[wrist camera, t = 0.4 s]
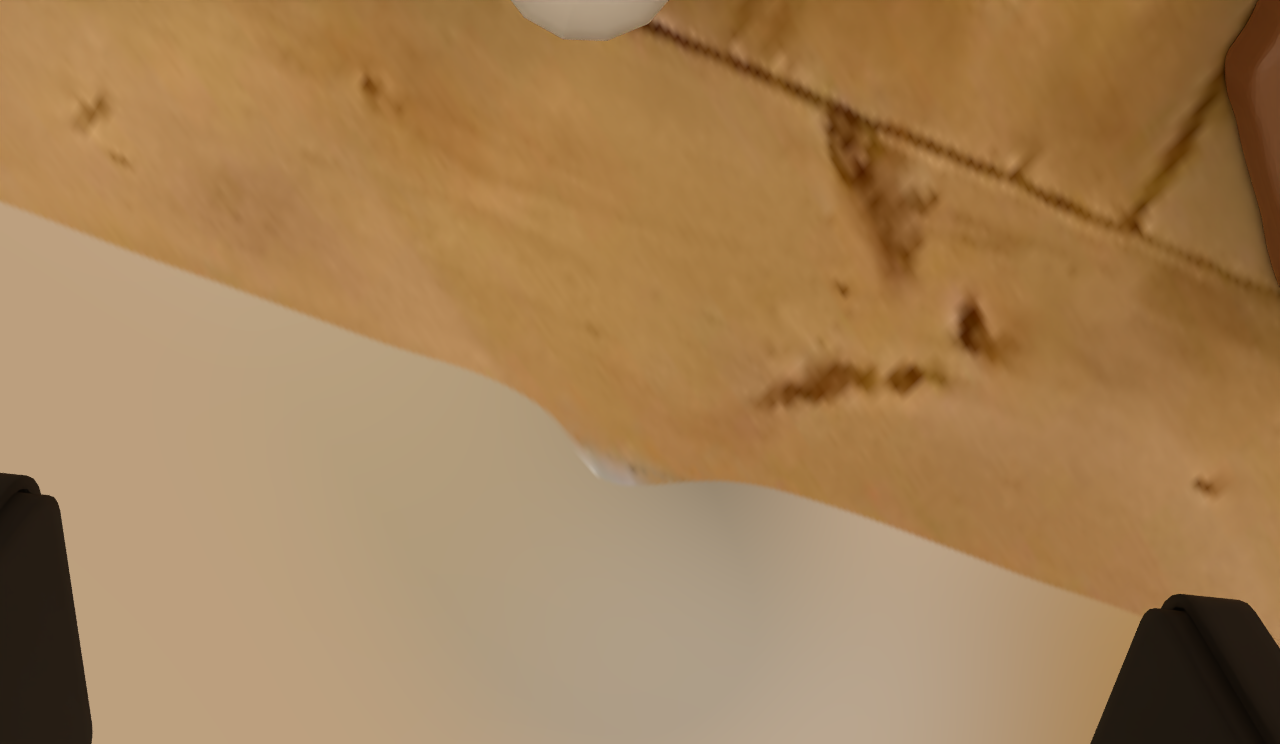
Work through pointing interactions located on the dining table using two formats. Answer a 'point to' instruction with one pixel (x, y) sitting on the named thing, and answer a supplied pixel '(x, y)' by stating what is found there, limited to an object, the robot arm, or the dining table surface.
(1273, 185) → the plant
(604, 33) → the salt shaker
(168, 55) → the dining table surface
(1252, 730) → the robot arm
